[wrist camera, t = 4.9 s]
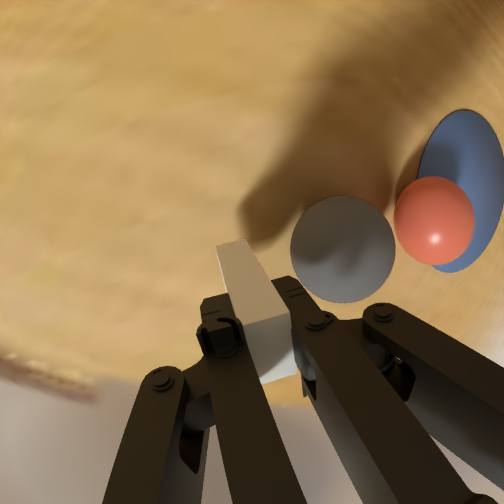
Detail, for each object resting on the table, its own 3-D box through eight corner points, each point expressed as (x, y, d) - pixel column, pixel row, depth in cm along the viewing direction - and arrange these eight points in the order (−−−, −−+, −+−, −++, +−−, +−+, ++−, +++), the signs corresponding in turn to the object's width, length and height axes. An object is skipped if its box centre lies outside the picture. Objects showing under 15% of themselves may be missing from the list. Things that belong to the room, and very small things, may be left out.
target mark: (502, 115, 17) (504, 115, 17) (497, 250, 23) (498, 250, 23) (407, 106, 15) (409, 106, 15) (408, 292, 21) (410, 293, 21)
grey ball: (269, 216, 12) (299, 185, 17) (282, 320, 15) (306, 267, 19) (402, 218, 10) (393, 185, 15) (391, 329, 13) (390, 271, 17)
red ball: (409, 166, 18) (481, 174, 14) (409, 237, 20) (474, 252, 16) (377, 181, 15) (471, 193, 11) (379, 268, 17) (459, 291, 13)
